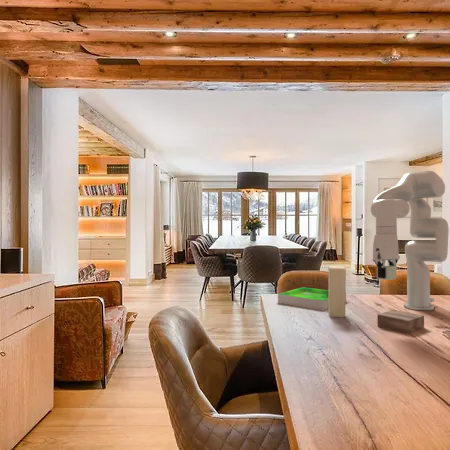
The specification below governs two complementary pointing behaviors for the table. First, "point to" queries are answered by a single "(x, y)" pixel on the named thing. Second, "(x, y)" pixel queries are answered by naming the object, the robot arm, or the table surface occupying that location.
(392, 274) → the cream cube
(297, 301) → the tray
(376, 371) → the table surface
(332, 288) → the tall beige block
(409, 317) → the walnut block
